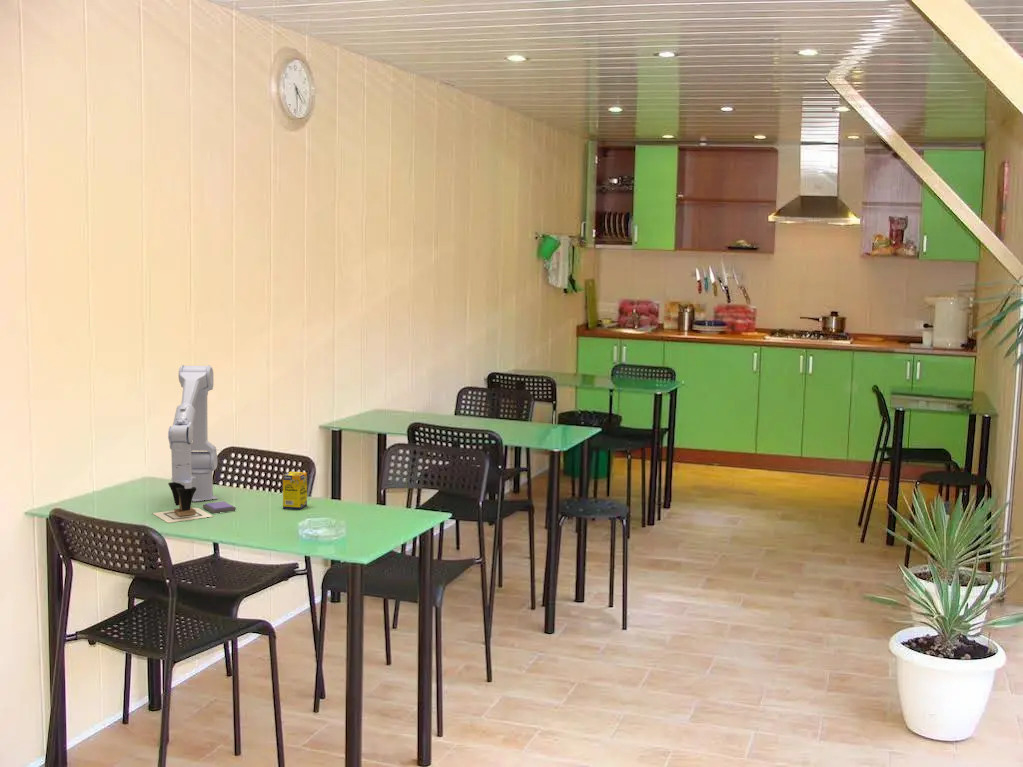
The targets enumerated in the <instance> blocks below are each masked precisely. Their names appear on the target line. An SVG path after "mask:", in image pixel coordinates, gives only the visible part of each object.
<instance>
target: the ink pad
mask: <svg viewBox="0 0 1023 767" xmlns="http://www.w3.org/2000/svg"><path fill="white" fill-rule="evenodd" d="M202 507H203V508H204V510H205V509H206V511H207V510H208V512H209V511H210V512H209V513H211V512H212V513H211V514H213V513H218V514H221V513H220V512H225V513H227V512H226V511H233V512H236V511H235V510H237V508H236V507H235V506H234V505H231V504H229V502H228V503H227V502H226V501H224V500H223V501H217V502H216V501H215V502H209V503H204V504H203V505H202Z"/></svg>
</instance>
